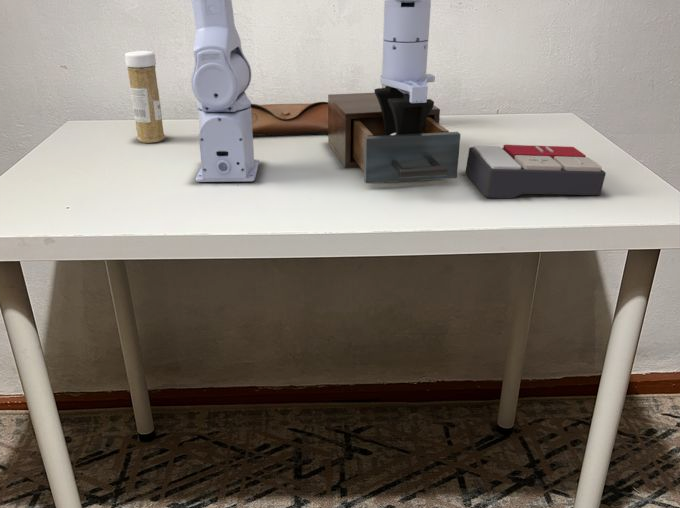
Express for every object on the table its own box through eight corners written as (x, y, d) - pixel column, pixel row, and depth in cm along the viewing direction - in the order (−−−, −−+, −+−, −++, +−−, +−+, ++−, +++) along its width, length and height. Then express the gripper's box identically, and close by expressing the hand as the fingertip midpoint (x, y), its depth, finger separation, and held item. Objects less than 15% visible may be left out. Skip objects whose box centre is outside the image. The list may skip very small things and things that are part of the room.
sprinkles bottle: (170, 140, 115) (160, 52, 108) (146, 145, 113) (134, 55, 106) (155, 135, 118) (144, 49, 111) (131, 140, 116) (118, 52, 109)
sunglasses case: (233, 135, 115) (230, 95, 115) (234, 148, 122) (231, 110, 122) (342, 131, 117) (339, 91, 117) (336, 144, 124) (334, 106, 124)
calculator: (608, 166, 87) (490, 163, 86) (600, 200, 90) (485, 197, 88) (576, 144, 97) (469, 141, 96) (569, 175, 99) (464, 172, 98)
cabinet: (436, 162, 103) (440, 109, 99) (345, 168, 101) (345, 113, 97) (410, 139, 114) (413, 90, 110) (328, 144, 112) (328, 94, 108)
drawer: (470, 189, 89) (474, 143, 86) (374, 196, 87) (376, 149, 84) (428, 153, 104) (431, 112, 101) (346, 157, 102) (346, 116, 99)
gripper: (454, 46, 83) (445, 160, 90) (419, 32, 96) (413, 133, 103) (397, 48, 82) (392, 163, 89) (369, 33, 95) (366, 135, 102)
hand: (400, 147), depth 96 cm, fingers open, 5 cm apart
